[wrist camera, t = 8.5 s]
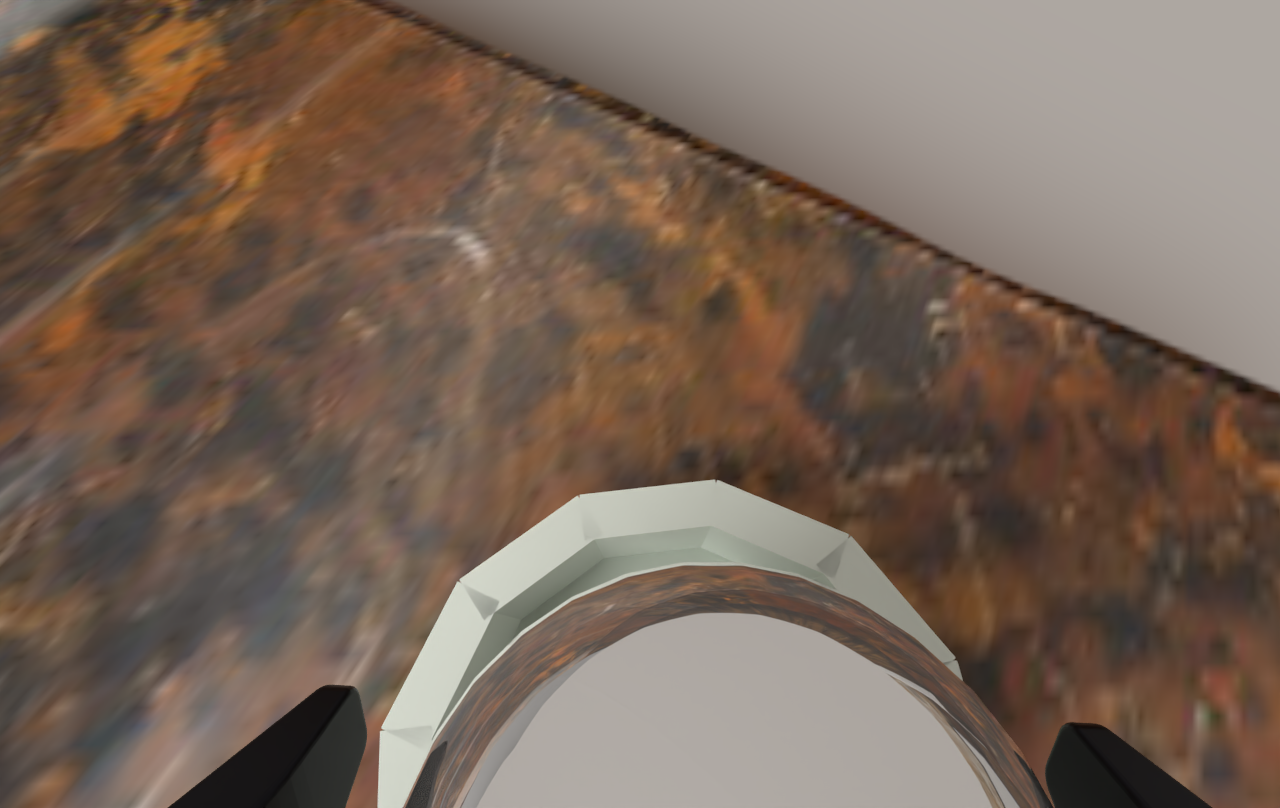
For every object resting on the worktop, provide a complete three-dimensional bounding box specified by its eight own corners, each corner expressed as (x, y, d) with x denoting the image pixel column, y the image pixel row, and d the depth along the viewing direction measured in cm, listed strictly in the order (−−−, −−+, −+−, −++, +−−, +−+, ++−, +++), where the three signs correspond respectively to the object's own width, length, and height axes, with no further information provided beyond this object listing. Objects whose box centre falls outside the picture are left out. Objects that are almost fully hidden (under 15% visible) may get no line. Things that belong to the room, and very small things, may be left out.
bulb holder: (834, 1189, 13) (910, 1411, 9) (339, 900, 15) (234, 985, 11) (969, 621, 17) (1061, 611, 13) (565, 449, 18) (543, 399, 15)
